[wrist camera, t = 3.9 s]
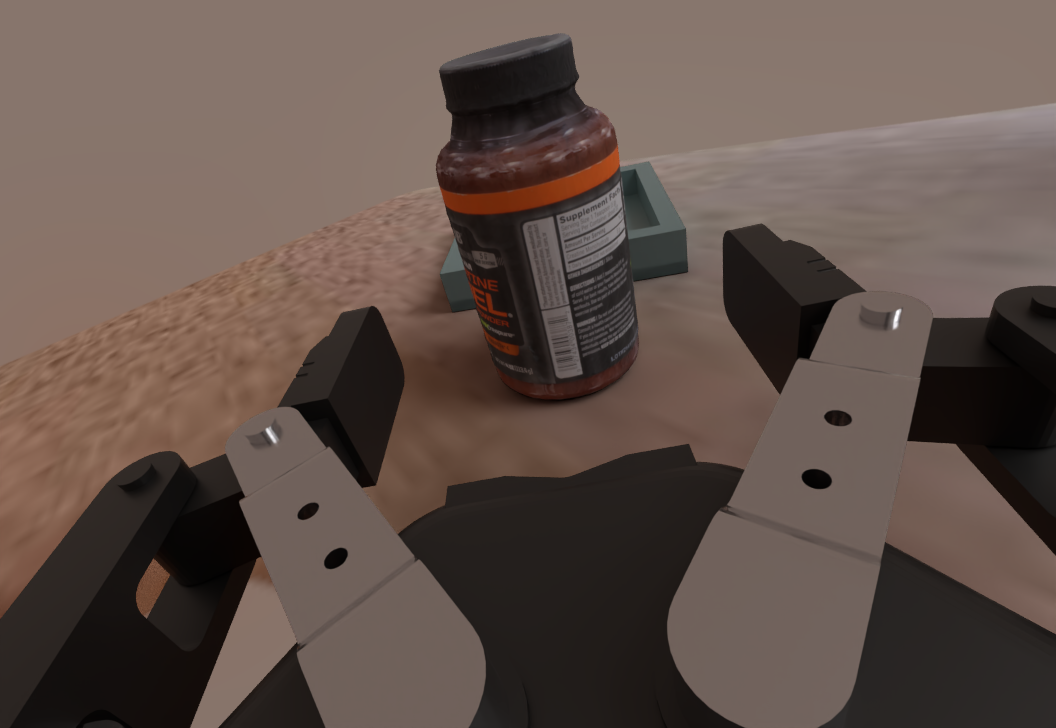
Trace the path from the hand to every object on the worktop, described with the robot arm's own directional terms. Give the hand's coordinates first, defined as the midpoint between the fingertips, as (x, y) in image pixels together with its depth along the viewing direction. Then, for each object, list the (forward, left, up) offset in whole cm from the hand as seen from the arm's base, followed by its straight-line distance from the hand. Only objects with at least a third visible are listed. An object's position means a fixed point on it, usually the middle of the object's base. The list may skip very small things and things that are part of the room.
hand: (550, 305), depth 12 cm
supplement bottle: (+1, -7, -7) cm, 10 cm away
